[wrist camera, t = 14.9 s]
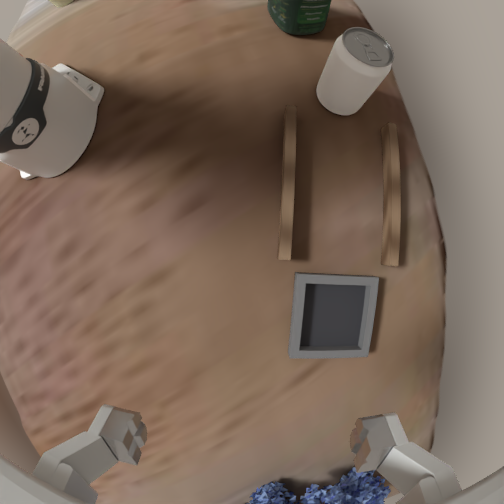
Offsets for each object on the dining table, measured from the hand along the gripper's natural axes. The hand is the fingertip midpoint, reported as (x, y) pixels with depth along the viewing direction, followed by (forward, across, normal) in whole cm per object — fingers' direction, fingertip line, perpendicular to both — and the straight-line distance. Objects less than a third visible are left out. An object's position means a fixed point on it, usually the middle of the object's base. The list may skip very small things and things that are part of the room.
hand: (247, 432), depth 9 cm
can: (+31, -11, -18) cm, 38 cm away
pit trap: (+23, -9, +9) cm, 26 cm away
